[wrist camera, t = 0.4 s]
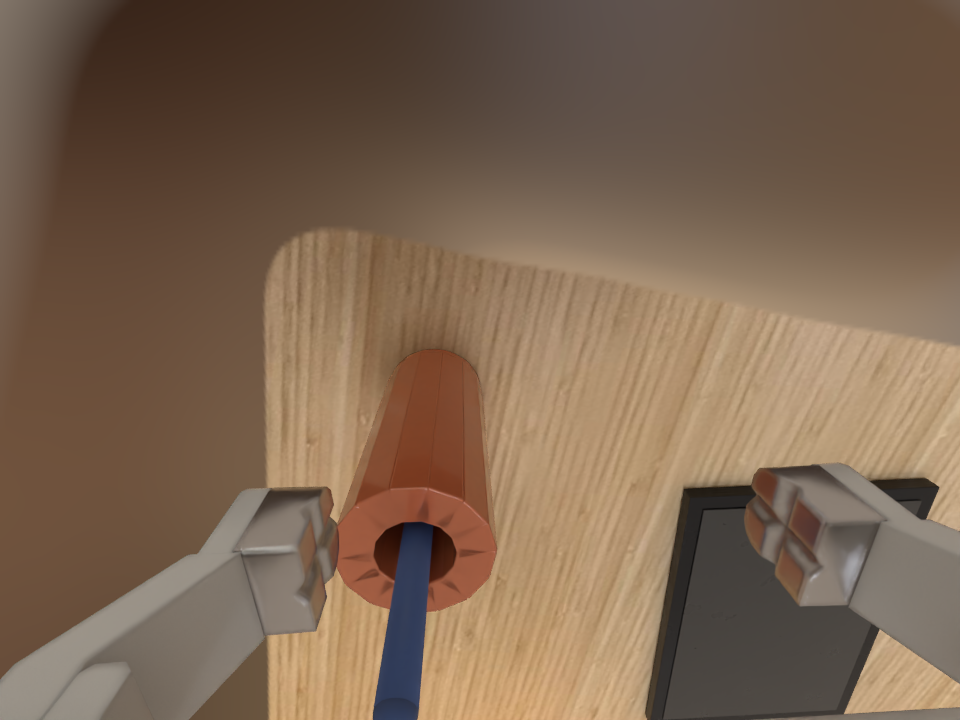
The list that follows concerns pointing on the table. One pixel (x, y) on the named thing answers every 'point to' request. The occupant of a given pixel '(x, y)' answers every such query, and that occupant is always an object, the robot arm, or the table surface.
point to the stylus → (405, 628)
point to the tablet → (753, 622)
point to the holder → (422, 484)
